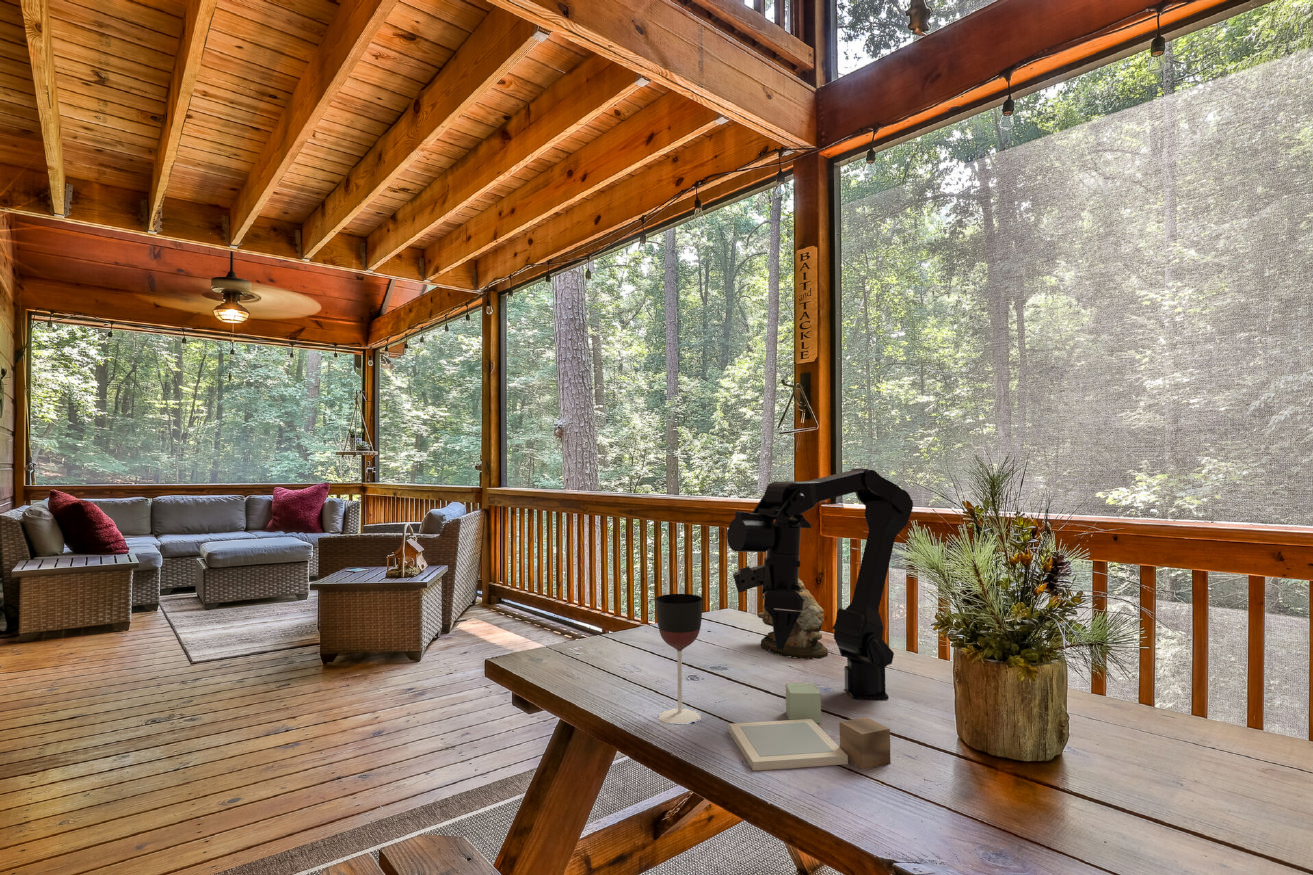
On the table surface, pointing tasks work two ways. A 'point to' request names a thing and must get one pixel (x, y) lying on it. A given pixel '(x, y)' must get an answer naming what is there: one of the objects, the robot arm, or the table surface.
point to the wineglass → (679, 639)
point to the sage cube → (803, 702)
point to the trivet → (786, 744)
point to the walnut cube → (865, 742)
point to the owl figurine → (800, 630)
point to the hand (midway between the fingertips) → (778, 643)
